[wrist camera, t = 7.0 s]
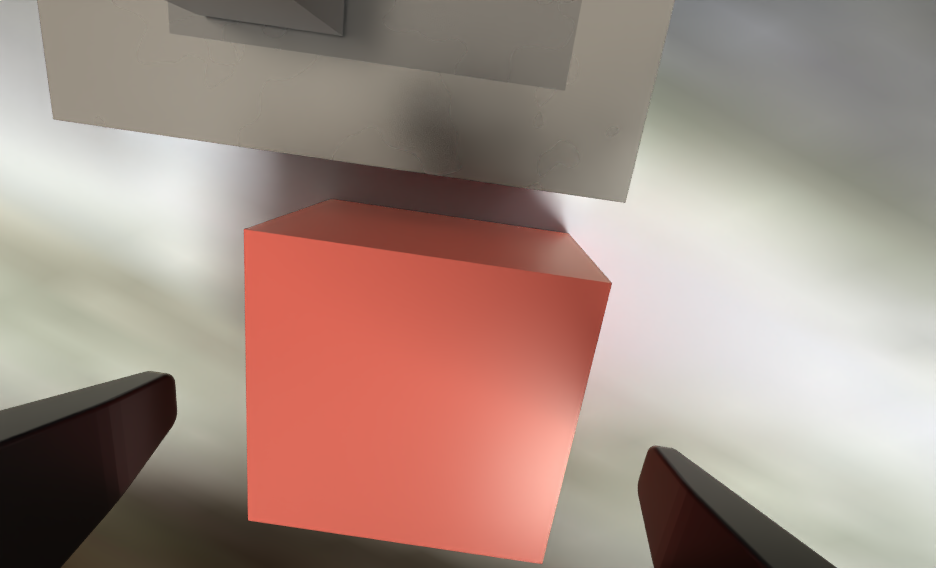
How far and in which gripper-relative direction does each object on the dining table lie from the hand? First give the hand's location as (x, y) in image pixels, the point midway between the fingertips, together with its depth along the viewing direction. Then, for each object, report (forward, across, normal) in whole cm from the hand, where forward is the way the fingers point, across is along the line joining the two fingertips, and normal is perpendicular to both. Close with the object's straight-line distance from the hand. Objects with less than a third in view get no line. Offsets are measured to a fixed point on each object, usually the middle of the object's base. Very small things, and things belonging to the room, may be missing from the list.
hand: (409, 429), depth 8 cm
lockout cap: (+5, 0, 0) cm, 5 cm away
